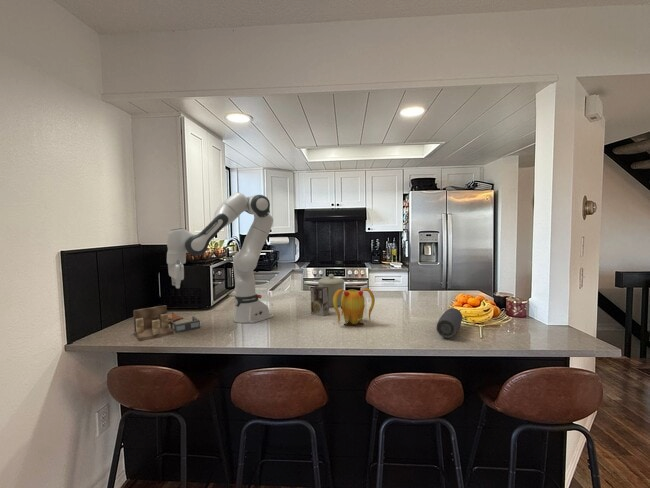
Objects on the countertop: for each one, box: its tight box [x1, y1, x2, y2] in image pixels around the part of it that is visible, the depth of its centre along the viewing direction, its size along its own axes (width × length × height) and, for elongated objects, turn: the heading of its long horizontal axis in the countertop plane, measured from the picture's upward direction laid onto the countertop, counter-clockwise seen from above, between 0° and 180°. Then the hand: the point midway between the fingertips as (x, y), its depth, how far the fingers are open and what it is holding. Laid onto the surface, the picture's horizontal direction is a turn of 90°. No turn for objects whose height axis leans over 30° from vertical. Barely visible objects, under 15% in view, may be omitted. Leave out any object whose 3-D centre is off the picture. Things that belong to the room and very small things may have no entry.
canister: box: [317, 273, 346, 308], centre depth 206 cm, size 18×18×21 cm
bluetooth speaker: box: [436, 307, 463, 338], centre depth 151 cm, size 23×9×10 cm, turn 149°
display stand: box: [133, 304, 175, 342], centre depth 157 cm, size 15×14×12 cm
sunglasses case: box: [167, 312, 184, 325], centre depth 177 cm, size 18×7×7 cm
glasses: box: [169, 315, 201, 334], centre depth 165 cm, size 12×10×4 cm
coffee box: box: [310, 285, 330, 316], centre depth 187 cm, size 9×6×16 cm
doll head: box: [333, 287, 376, 328], centre depth 167 cm, size 22×15×20 cm
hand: (175, 286), depth 160 cm, fingers open, 8 cm apart
